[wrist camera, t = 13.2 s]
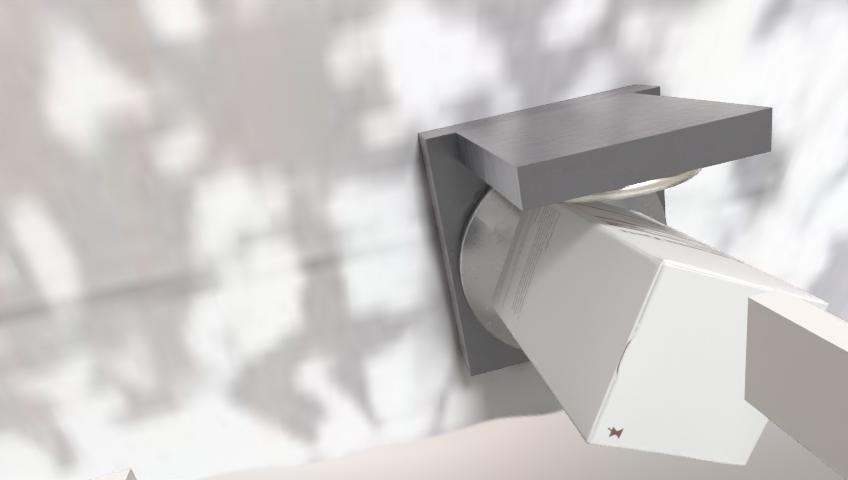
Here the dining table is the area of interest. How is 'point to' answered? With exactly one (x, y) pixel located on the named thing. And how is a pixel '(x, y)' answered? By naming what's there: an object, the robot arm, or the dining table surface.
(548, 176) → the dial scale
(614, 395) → the supplement box
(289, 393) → the dining table surface
